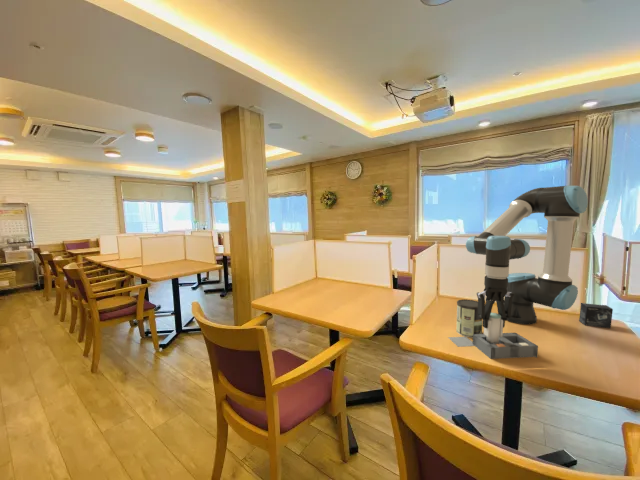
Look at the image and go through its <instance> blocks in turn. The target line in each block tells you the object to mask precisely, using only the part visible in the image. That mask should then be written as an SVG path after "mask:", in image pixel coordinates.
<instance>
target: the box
mask: <svg viewBox="0 0 640 480" xmlns="http://www.w3.org/2000/svg"><path fill="white" fill-rule="evenodd" d="M613 310H614V309H613V308H612V307H610V306H608V305H607V304H593V303H587V302H580V311H579V317H578V318H579V319H578V321H579V322H580V323H581V324H583V326H587V327H588V326H589V327H596V328H605V329H611V328H612V327H611V326H612V320H613Z"/></svg>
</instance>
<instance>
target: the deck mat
mask: <svg viewBox="0 0 640 480" xmlns="http://www.w3.org/2000/svg"><path fill="white" fill-rule="evenodd" d="M447 338H448V339H449V340H450V341H451V342H452V343H453V344H454V345H455V346H457V347H461V348H462V347H475V346H474V345H473V340H471V339H470V338H469V337H466V336H449V337H447Z"/></svg>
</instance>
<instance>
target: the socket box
mask: <svg viewBox="0 0 640 480" xmlns="http://www.w3.org/2000/svg"><path fill="white" fill-rule="evenodd" d="M472 342H473V345H474V346H473V347H475V348H477V349H478V350H479V351H480V352H481V353H483V354H484V355H485V356H487V358H489V359H491V360H495V359H496V360H497V359H515V358H517V359H519V358H536V359H537V358H538V356H539V355H538V353H539V345H537V344H536V343H534V342H533V341H530V340H529V339H527V338H525V336H522V335H520V334H518V333H517V332H503V334H502V337H500V336H499V344H489V343H488V342H487V341H486V335H484V333H482V334H473V338H472Z"/></svg>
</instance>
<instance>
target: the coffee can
mask: <svg viewBox="0 0 640 480" xmlns="http://www.w3.org/2000/svg"><path fill="white" fill-rule="evenodd" d="M482 324H483V319H482V318H480V317H478V300H475V299H459V300H457V301H456V329H455V330H456V333H458V335H460V336H462V337H467V338H471V339H473V334H483V326H482Z"/></svg>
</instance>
